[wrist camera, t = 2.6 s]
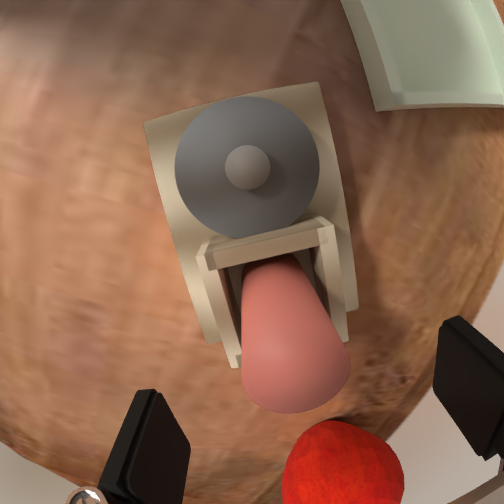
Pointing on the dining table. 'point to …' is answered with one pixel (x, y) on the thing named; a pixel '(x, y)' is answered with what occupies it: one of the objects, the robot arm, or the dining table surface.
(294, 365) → the pin
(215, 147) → the beige dial holder
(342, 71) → the dining table surface
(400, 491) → the apple
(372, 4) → the tray
